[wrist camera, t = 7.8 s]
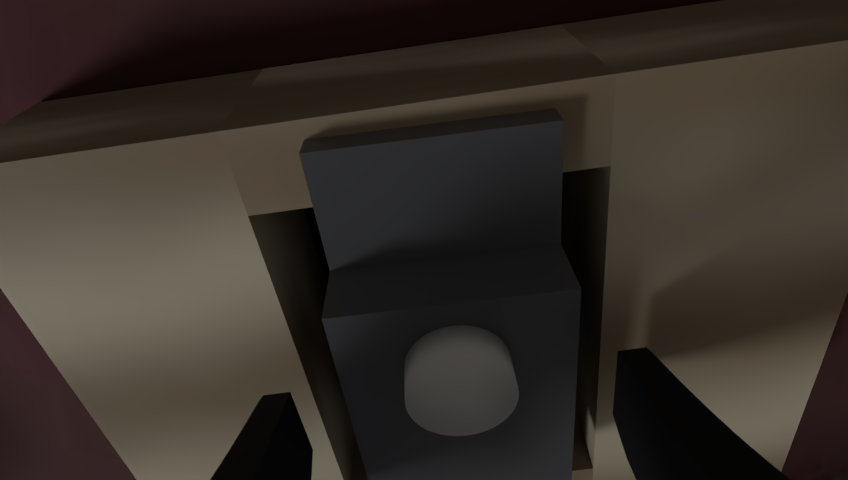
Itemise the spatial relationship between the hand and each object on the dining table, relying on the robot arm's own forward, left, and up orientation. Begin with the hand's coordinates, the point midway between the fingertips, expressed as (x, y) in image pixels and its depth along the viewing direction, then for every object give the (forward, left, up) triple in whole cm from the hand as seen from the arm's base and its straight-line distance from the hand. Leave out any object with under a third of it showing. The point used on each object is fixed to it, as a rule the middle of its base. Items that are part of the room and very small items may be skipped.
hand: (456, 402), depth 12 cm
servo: (0, 0, -5) cm, 5 cm away
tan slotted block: (0, 0, -5) cm, 5 cm away
